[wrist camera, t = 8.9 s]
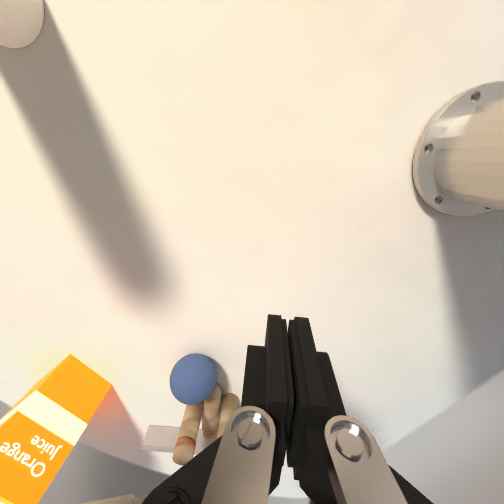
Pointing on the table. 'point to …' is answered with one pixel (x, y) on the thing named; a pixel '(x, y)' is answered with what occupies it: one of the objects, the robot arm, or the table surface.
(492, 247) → the table surface
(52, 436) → the orange juice
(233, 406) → the pin
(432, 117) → the robot arm
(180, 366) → the ball
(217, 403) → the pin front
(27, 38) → the cylindrical container
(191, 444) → the pin
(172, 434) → the rail
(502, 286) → the table surface
